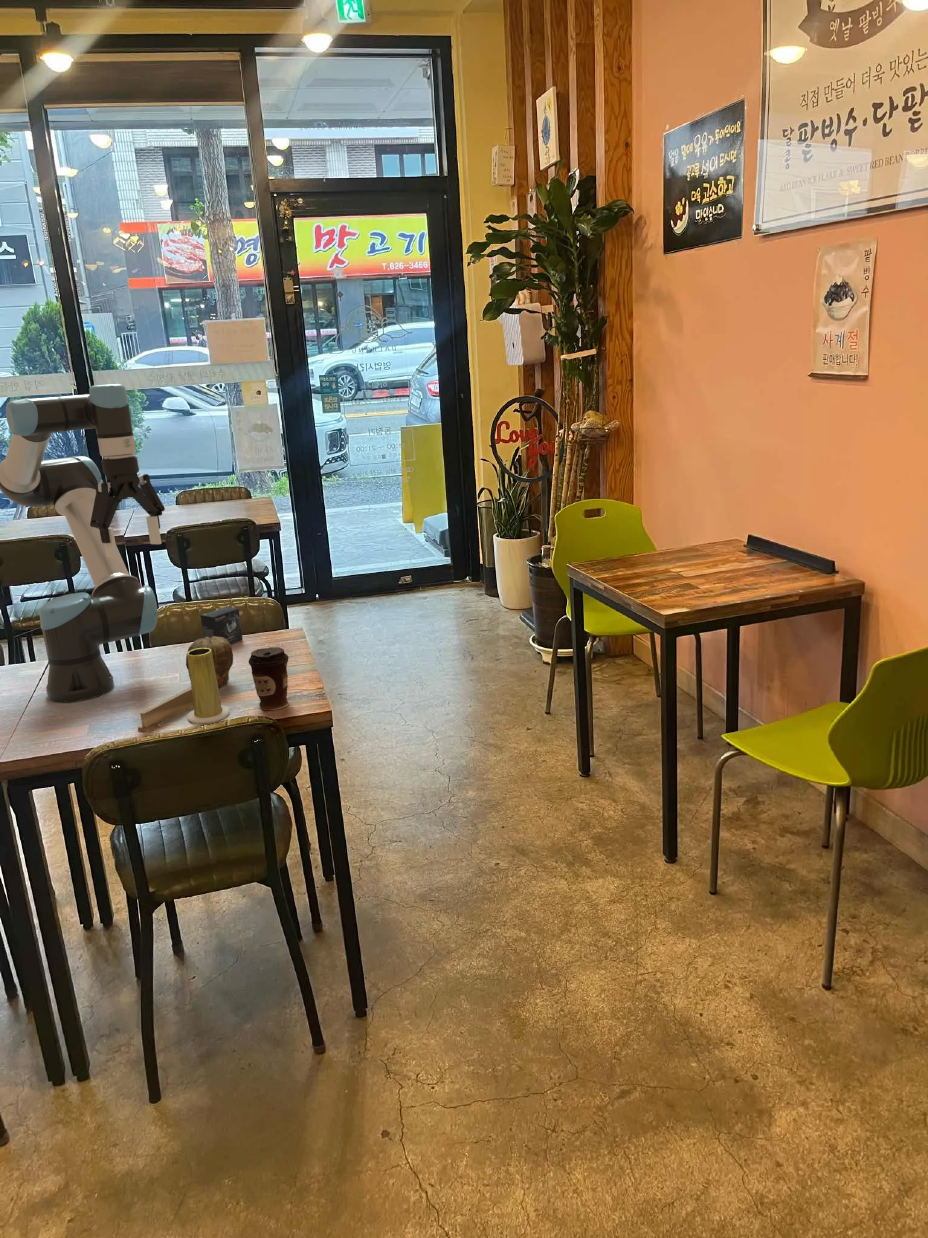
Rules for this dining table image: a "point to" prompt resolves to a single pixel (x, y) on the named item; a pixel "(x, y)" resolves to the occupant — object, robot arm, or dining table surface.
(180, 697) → the divider
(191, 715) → the coaster
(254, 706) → the dining table surface
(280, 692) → the coffee cup
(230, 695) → the dining table surface
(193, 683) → the vase
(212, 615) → the box
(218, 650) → the shell
